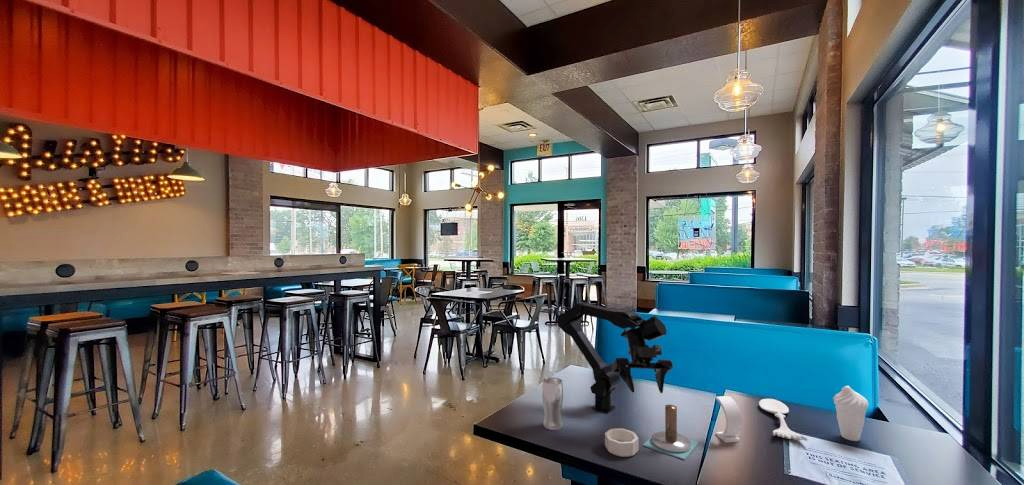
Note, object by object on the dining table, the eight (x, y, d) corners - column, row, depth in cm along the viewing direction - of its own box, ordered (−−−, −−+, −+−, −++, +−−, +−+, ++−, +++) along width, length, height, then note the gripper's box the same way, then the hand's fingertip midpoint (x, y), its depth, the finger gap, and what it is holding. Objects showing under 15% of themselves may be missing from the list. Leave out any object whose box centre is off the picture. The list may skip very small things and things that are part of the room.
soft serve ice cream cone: (860, 433, 128) (860, 382, 128) (874, 446, 120) (874, 392, 120) (828, 429, 130) (828, 380, 130) (839, 442, 123) (839, 389, 122)
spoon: (772, 443, 123) (772, 432, 123) (756, 403, 152) (756, 394, 152) (808, 449, 119) (809, 437, 119) (785, 407, 148) (785, 398, 148)
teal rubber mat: (659, 431, 130) (659, 430, 130) (698, 443, 122) (698, 442, 122) (643, 445, 121) (643, 444, 121) (684, 460, 113) (684, 458, 113)
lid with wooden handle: (660, 431, 129) (659, 396, 129) (696, 442, 122) (696, 405, 122) (645, 444, 121) (645, 407, 121) (683, 457, 114) (683, 418, 114)
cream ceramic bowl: (614, 438, 126) (614, 425, 125) (642, 448, 120) (642, 434, 120) (600, 450, 119) (600, 436, 119) (628, 460, 113) (628, 446, 113)
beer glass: (562, 431, 130) (562, 385, 130) (540, 429, 132) (540, 383, 132) (564, 421, 137) (563, 377, 137) (543, 420, 139) (543, 376, 138)
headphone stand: (729, 433, 128) (729, 395, 128) (742, 443, 122) (742, 403, 122) (715, 434, 128) (715, 396, 128) (727, 444, 122) (727, 404, 122)
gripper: (618, 333, 130) (627, 382, 120) (674, 336, 132) (687, 384, 122) (607, 348, 138) (615, 394, 129) (660, 350, 140) (672, 396, 130)
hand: (647, 392), depth 127 cm, fingers open, 9 cm apart
